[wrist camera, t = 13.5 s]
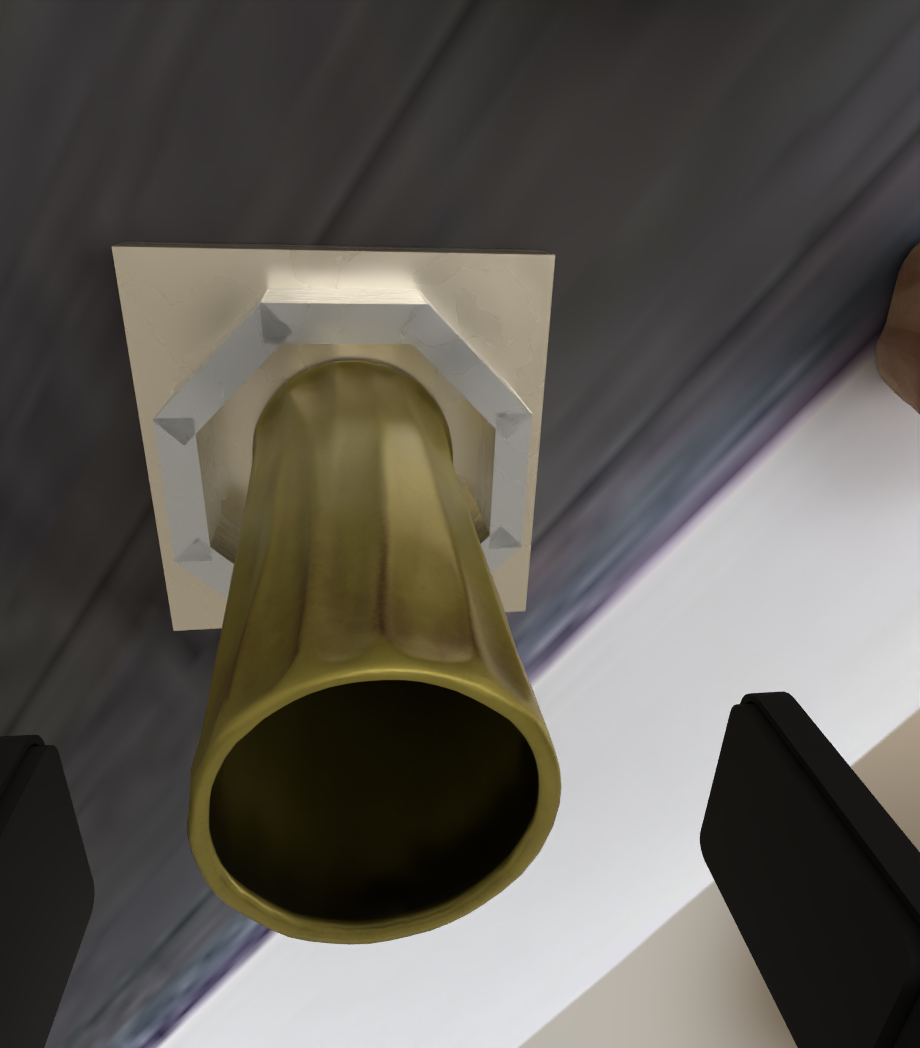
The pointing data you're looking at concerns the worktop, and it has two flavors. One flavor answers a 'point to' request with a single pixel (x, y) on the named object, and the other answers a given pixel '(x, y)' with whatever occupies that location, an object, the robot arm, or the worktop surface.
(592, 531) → the worktop surface
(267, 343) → the ring stand
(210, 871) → the vase
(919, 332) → the cupcake
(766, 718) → the robot arm
